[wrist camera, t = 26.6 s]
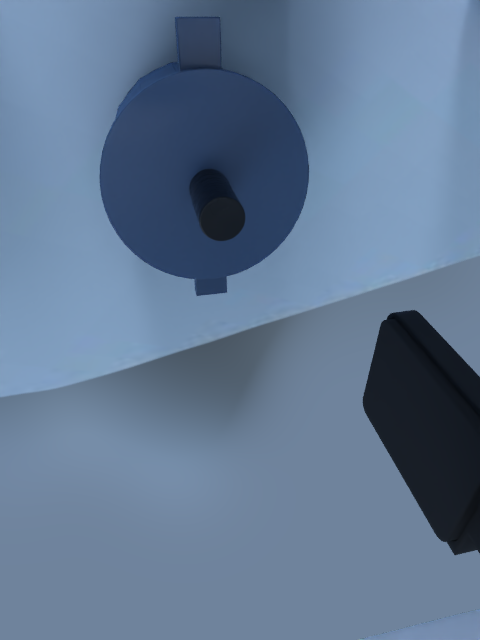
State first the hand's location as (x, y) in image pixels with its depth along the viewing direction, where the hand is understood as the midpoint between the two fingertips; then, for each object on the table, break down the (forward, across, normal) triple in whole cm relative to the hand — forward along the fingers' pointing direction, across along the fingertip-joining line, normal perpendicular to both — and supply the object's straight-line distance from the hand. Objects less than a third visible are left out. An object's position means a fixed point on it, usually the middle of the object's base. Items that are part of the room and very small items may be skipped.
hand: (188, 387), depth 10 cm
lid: (+20, -3, +2) cm, 21 cm away
